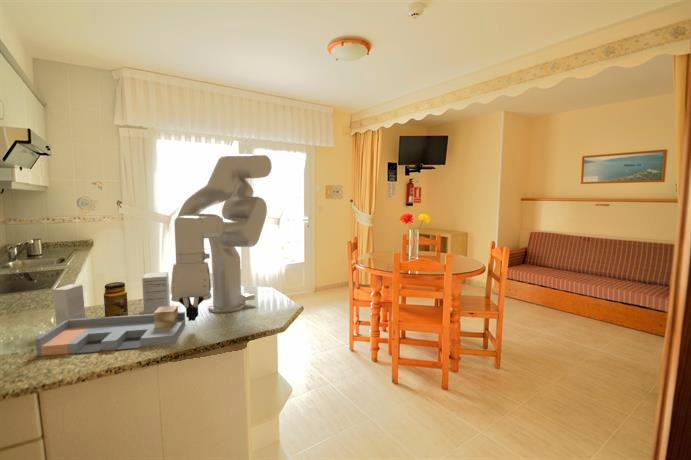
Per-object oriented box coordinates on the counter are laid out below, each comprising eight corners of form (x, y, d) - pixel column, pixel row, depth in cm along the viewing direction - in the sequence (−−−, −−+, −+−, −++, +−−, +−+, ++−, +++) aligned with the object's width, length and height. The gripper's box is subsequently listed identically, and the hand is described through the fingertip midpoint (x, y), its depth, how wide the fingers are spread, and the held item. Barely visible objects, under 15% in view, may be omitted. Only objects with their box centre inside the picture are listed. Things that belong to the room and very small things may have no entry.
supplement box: (146, 308, 117) (145, 273, 115) (170, 305, 120) (168, 271, 118) (143, 315, 110) (141, 277, 109) (168, 312, 113) (166, 276, 111)
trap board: (185, 325, 101) (184, 311, 101) (173, 345, 88) (172, 329, 87) (67, 334, 94) (66, 319, 94) (34, 357, 80) (32, 340, 80)
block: (178, 320, 99) (177, 305, 99) (174, 326, 94) (173, 311, 94) (160, 321, 98) (159, 306, 98) (154, 328, 93) (153, 312, 93)
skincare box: (72, 320, 104) (70, 283, 103) (86, 321, 104) (83, 284, 103) (55, 328, 98) (52, 289, 97) (69, 328, 98) (66, 289, 97)
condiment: (129, 321, 104) (127, 284, 103) (96, 327, 99) (93, 288, 98) (129, 314, 110) (127, 279, 109) (98, 319, 105) (95, 283, 104)
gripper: (219, 255, 101) (220, 313, 103) (165, 256, 98) (168, 316, 99) (215, 259, 94) (217, 321, 96) (157, 261, 90) (160, 326, 92)
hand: (192, 319), depth 98 cm, fingers closed
